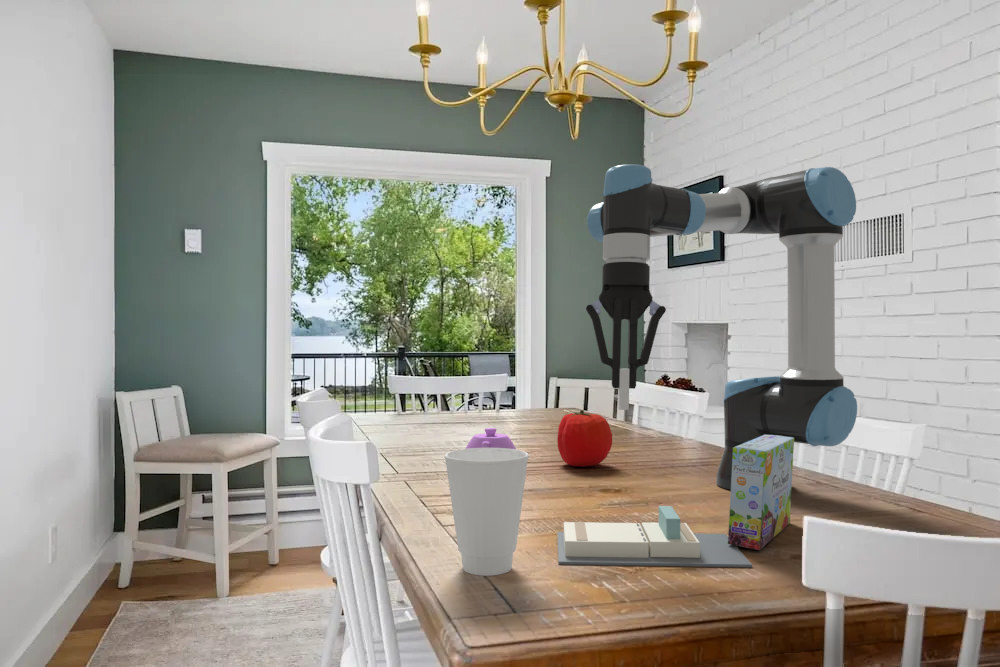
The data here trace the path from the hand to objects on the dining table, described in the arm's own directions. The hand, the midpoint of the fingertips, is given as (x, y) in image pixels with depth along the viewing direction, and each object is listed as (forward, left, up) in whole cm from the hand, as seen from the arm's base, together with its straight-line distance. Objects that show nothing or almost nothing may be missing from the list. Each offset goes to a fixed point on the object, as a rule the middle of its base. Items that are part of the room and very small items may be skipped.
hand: (623, 408), depth 121 cm
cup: (+21, +17, -21) cm, 34 cm away
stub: (-6, +7, -20) cm, 22 cm away
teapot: (+26, -54, -21) cm, 63 cm away
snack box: (-22, -2, -21) cm, 30 cm away
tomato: (+4, -63, -21) cm, 67 cm away
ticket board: (-2, +7, -21) cm, 22 cm away
